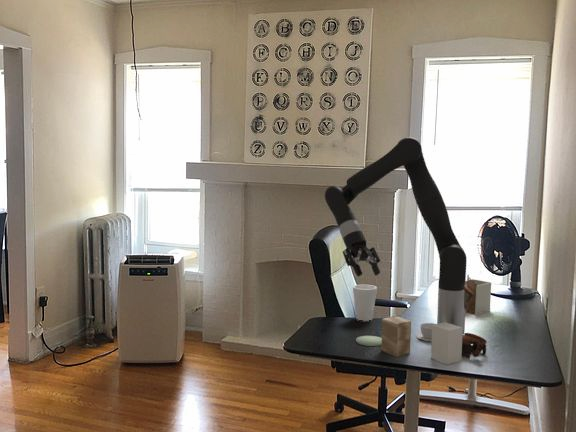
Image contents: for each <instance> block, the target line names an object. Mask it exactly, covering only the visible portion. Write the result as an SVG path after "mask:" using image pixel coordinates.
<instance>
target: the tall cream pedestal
mask: <svg viewBox="0 0 576 432" xmlns="http://www.w3.org/2000/svg"><path fill="white" fill-rule="evenodd" d="M434 324H435V325H432V341H431V346H430V347H431V348H430V358H431V359H433V360H435V361H438V362H441V363H443V364H446V365H450V364H455V363H458V362H462V356H461V355H462V337H463V335H462V332H463V328H462V327H459V326H456V325H453V324H450V323H446V322H445V323H440V324H437V323H434Z"/></svg>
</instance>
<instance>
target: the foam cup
mask: <svg viewBox="0 0 576 432" xmlns="http://www.w3.org/2000/svg"><path fill="white" fill-rule="evenodd" d="M352 294H353V300H354V309H355V310H354V311H355V318H356V320H357V319H358V320H357V321H359V320H363V321H362V322H370V321H369V320H371V321H373V317H374V316H373V315H374V311H375V304H376V297H377V294H378V287H377V285H372V284H356V285H352Z"/></svg>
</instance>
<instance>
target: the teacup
mask: <svg viewBox="0 0 576 432" xmlns="http://www.w3.org/2000/svg"><path fill="white" fill-rule="evenodd" d="M435 324H436V323H433V322H428V323H427V322H426V323H421V324H420V325H419V326H420V327H419V328H420V333H419V334H417V335H415V336H416V338H417V339H419V340H422V341H425V342H432V325H435Z"/></svg>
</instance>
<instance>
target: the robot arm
mask: <svg viewBox="0 0 576 432" xmlns="http://www.w3.org/2000/svg"><path fill="white" fill-rule="evenodd" d="M401 167H404V169H405V172H406V173H407V175H408V178H409V182H410V185H411V190H412V194H413V196H414V199H415V202H416V205H417V208H418V210H419V212H420V215H421V217H422V219H423V221H424V223H425V224H426V226H427V228H428V230H429V231H430V233H431V234H432V235H431V236H432V237H433V240H434V242H435V243H434V244H435V246H436V248H437V252H438V253H437V254H438V257H439V271H438V272H439V273H438V274H439V276H438V290H437V291H438V292H437V298H438V299H437V316H436V317H437V319H436V324H440V323H445V322H446V323H450V324H453V325H456V326H459V327H462V328H463V332H462V336H464V334H465V326H466V309H464V289H465V281H467V279H466V277H467V254H466V252H465V250H464V249H463V247H462V246H461V244H460V242H459V240H458V239H457V237H456V234H455V233H454V231H453V228H452V226H451V221H450V217H449V213H448V210H447V206H446V203H445V201H444V198H443V195H442V194H441V191H440V190H439V188H438V187H439V186H437V184H436V182H435V180H434V179H433V177H432V175H431V173H430V171H429V169H428V166H427V163H426V161H425V157H424V153H423V150H422V145H421V143H420V141H419V140H418V139H417V138H415V137H412V136H411V137H410V136H409V137H408V136H406V137H404V138H402V139H400V140H399V141H398V142H397V144H395V146H393V148H391V150H389V151H388V152H387V153H386V154H385V155H383V156H382V157H380V158H379V159H377V160H375V161H374V162H372V163H370V164H369V165H367V166H366V167H364V168H362V169H360V170H359V171H357V172H356V173H354V174H353V175H352V176H350V177H348V178H347V180H346V185H344V186H343V187H342V188H340V187H339V186H337V185H331V186H328V187H327V188H326V190H325V193H324V199H325V200H324V201H325V202H326V204H327V207H328V208H329V210H330V211H331V213H332V214H333V216H334V218H335V222H336V224H337V226H338V229H339V233H340V235H341V239H342V240H343V241H342V242H343V243H344V246H345V248H344V250H343V251H342V255H343V258H344V260H345V263H346V265H347V266H348V267H350V266H351V267H352V268H353V271H354V273H355V275H356V276H357V277H361V276H362V275H363V271H362V269H361V266H360V264H359V262H360V261H362V262H365V264H368V265H370V266H371V269H372V272H373V274H374V276H378V275H379V274H380V273H381V269H380V268H379V266H378V263H380V262H381V259H380V257H379V254H378V253H377V250H376V249H375V247H374V246H372V247H370V248H368V246H367V240H366V237H365V234H364V233H363V230H362V228H361V226H360V224H359V222H358V221H357V218H356V216H355V214H354V211H353V210H352V208H350V206H349V204H351V203H352V202H353V201H354V200H355V198H356V197H358V195H359V194H361V193H363V192H365V191H366V190H367V189H369V188H371V187H372V186H374V185H375V184H377V183H378V182H379V181H380V180H382V179H383V178H384V177H385V176H387V175H388V174H390V173H391V172H394V171H395V170H397V169H399V168H401Z"/></svg>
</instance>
